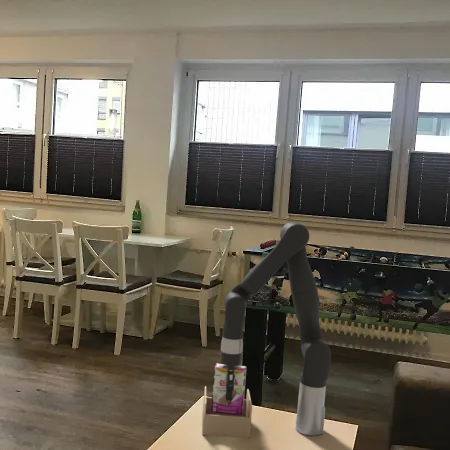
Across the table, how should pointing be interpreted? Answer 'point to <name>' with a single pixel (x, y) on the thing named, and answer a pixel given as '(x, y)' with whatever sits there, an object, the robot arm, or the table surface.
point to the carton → (226, 420)
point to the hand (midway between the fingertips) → (228, 396)
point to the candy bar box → (220, 391)
